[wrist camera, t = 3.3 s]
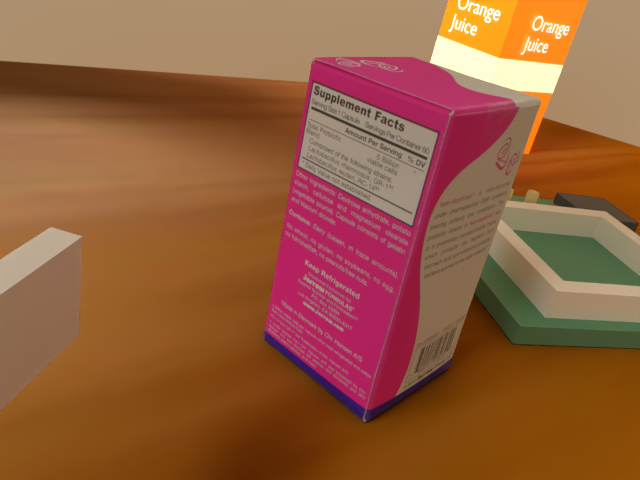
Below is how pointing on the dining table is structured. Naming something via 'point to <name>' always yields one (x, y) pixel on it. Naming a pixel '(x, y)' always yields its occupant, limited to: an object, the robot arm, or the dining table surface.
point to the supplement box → (390, 221)
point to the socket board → (564, 273)
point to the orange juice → (509, 44)
